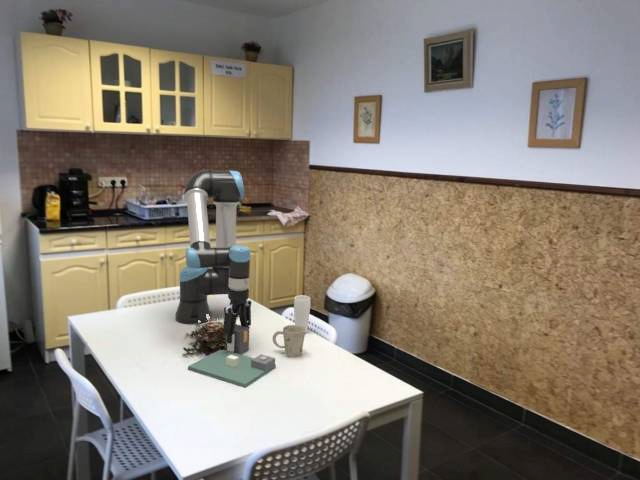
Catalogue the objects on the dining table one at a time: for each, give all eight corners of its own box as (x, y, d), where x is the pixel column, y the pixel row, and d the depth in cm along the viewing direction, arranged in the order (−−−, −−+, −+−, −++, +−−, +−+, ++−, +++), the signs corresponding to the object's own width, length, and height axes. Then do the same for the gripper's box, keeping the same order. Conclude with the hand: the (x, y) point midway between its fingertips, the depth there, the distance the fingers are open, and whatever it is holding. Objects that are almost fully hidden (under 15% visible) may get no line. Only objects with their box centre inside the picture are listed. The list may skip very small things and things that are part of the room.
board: (188, 369, 176) (188, 357, 176) (221, 352, 192) (221, 341, 191) (245, 387, 165) (245, 375, 165) (275, 367, 181) (276, 356, 180)
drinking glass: (308, 335, 213) (310, 300, 210) (292, 334, 213) (293, 299, 210) (309, 329, 219) (311, 295, 217) (293, 328, 220) (294, 294, 217)
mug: (301, 359, 189) (302, 333, 187) (268, 355, 191) (269, 329, 189) (306, 351, 197) (307, 326, 195) (274, 347, 199) (275, 322, 197)
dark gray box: (225, 351, 193) (225, 328, 191) (234, 346, 198) (235, 324, 196) (240, 355, 190) (241, 332, 188) (250, 350, 194) (250, 328, 193)
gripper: (230, 295, 179) (228, 358, 183) (262, 285, 196) (259, 342, 200) (213, 291, 183) (211, 353, 186) (246, 281, 200) (244, 338, 203)
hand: (236, 347), depth 193 cm, fingers open, 7 cm apart
